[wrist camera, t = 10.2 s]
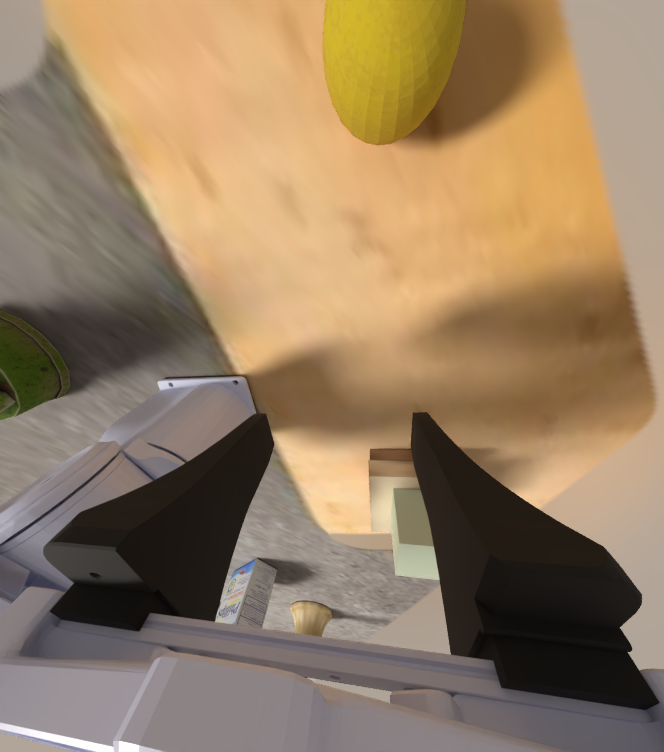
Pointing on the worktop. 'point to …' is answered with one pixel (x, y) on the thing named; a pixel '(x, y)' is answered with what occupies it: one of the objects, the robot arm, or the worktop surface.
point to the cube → (412, 536)
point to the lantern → (27, 368)
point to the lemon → (389, 62)
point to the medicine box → (248, 595)
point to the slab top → (388, 489)
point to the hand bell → (310, 617)
